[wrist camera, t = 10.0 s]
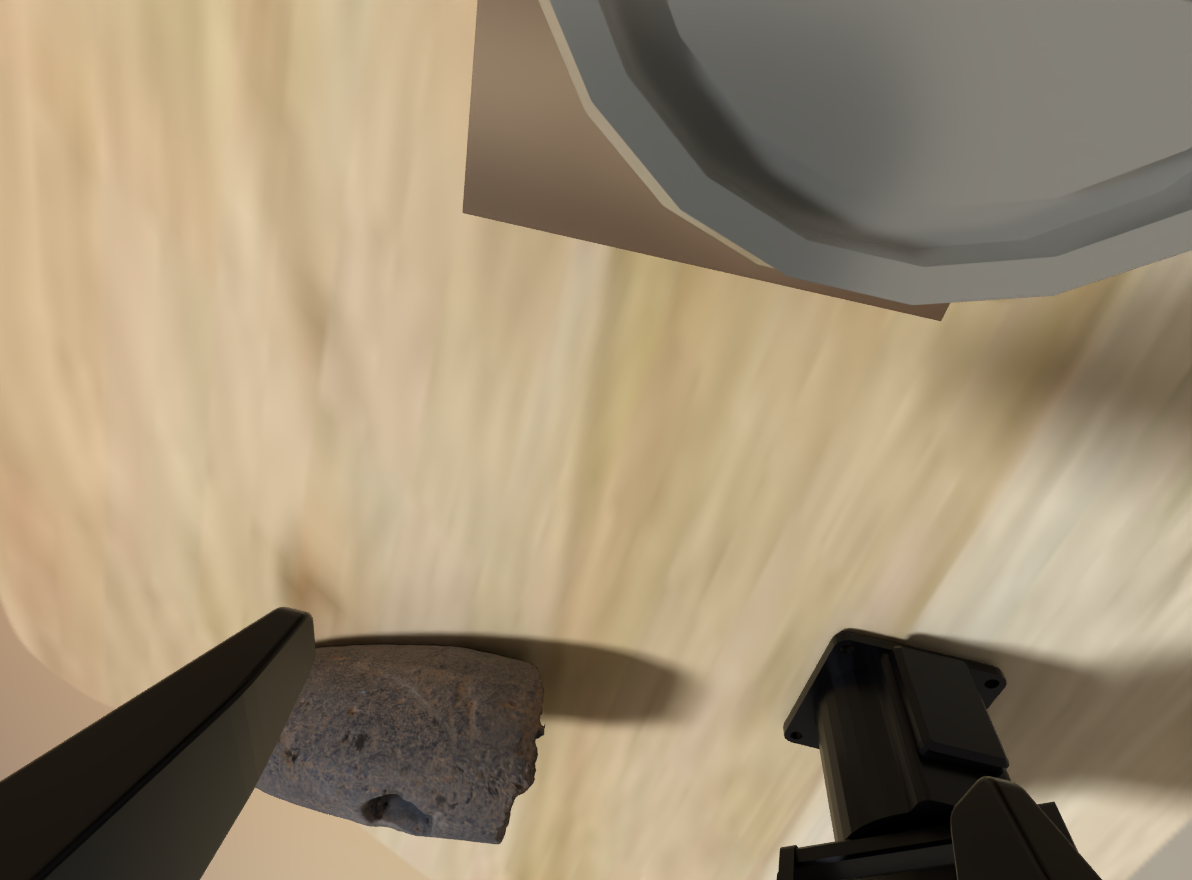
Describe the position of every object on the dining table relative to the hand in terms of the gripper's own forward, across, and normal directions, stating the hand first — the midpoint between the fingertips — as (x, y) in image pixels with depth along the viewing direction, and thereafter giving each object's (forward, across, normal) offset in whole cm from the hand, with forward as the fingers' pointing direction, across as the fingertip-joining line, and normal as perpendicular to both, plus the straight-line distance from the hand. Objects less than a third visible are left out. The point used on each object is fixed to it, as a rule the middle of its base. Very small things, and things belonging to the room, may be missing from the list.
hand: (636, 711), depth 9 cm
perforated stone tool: (+13, +8, +18) cm, 24 cm away
